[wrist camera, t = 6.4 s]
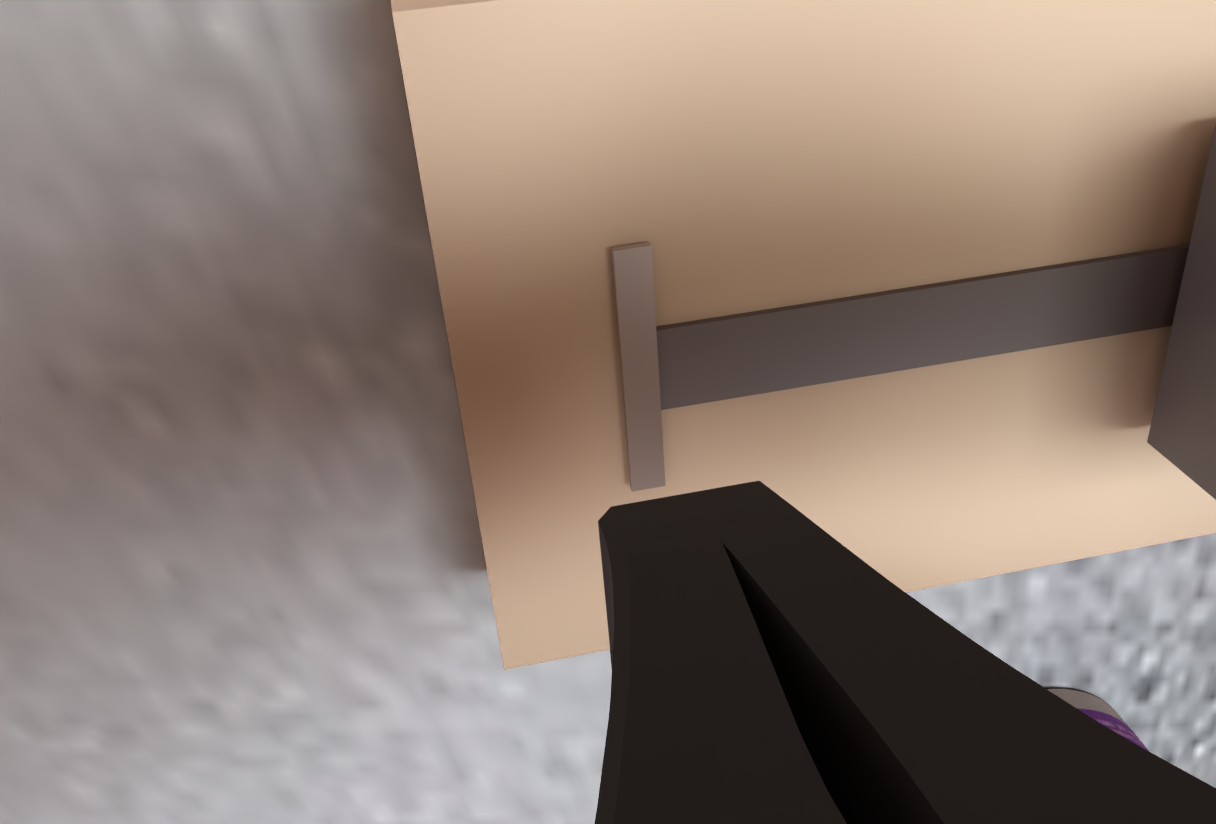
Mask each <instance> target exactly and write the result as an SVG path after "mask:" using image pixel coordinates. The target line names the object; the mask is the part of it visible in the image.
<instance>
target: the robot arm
mask: <svg viewBox="0 0 1216 824" xmlns="http://www.w3.org/2000/svg"><path fill="white" fill-rule="evenodd" d="M598 527H599V538H600V548H601V559H602V569H603V580H604V591H605V601H606V612H607V622H608V633H609V643H610V654H611V664H612V683H611V701H610V712H609V721H608V729H607V737H606V744H605V752H604V760H603V768H602V775H601V783H600V791H599V799H598V806H597V813H596V819H595V824H1216V788H1214V787H1212V786H1210V785H1209V784H1207V783H1205V782H1203V781H1201V780H1199V779H1198V778H1196V777H1194V776H1192V775H1190V774H1189V773H1187V772H1185V771H1183V770H1181V769H1179V768H1178V767H1176V766H1174V765H1172V764H1170V763H1169V762H1167V761H1165V760H1163V759H1161V758H1159V757H1158V756H1156V755H1154V754H1152V753H1150V752H1149V751H1147V750H1145V749H1143V748H1142V747H1140V746H1138V745H1137V744H1135V743H1133V742H1131V741H1130V740H1128V739H1126V738H1125V737H1123V736H1121V735H1120V734H1118V733H1116V732H1115V731H1113V730H1111V729H1109V728H1108V727H1106V726H1104V725H1103V724H1101V723H1099V722H1098V721H1096V720H1094V719H1093V718H1091V717H1089V716H1088V715H1086V714H1085V713H1083V712H1082V711H1080V710H1078V709H1077V708H1075V707H1074V706H1072V705H1071V704H1069V703H1068V702H1066V701H1064V700H1063V699H1061V698H1060V697H1058V696H1057V695H1055V694H1053V693H1052V692H1050V691H1049V690H1047V689H1046V688H1044V687H1042V686H1041V685H1039V684H1038V683H1036V682H1035V681H1033V680H1031V679H1030V678H1028V677H1027V676H1025V675H1024V674H1022V673H1020V672H1019V671H1017V670H1016V669H1014V668H1013V667H1011V666H1009V665H1008V664H1006V663H1005V662H1003V661H1002V660H1001V659H999V658H998V657H996V656H995V655H993V654H992V653H990V652H989V651H987V650H986V649H984V648H983V647H981V646H980V645H978V644H977V643H975V642H974V641H972V640H971V639H970V638H968V637H967V636H965V635H964V634H962V633H961V632H960V631H958V630H957V629H955V628H954V627H953V626H951V625H950V624H948V623H947V622H946V621H944V620H943V619H941V618H940V617H939V616H937V615H936V614H934V613H933V612H932V611H930V610H929V609H927V608H926V607H925V606H923V605H922V604H920V603H919V602H918V601H916V600H915V599H913V598H912V597H911V596H909V595H908V594H907V593H905V592H904V591H903V590H901V589H900V588H899V587H897V586H896V585H895V584H893V583H892V582H891V581H889V580H888V579H887V578H885V577H884V576H882V575H881V574H880V573H879V572H877V571H876V570H875V569H873V568H872V567H871V566H869V565H868V564H867V563H865V562H864V561H863V560H862V559H860V558H859V557H858V556H856V555H855V554H854V553H852V552H851V551H850V550H849V549H847V548H846V547H845V546H843V545H842V544H841V543H839V542H838V541H837V540H836V539H834V538H833V537H832V536H830V535H829V534H828V533H827V532H825V531H824V530H823V529H822V528H820V527H819V526H818V525H816V524H815V523H814V522H813V521H811V520H810V519H809V518H807V517H806V516H805V515H804V514H802V513H801V512H800V511H798V510H797V509H796V508H795V507H793V506H792V505H791V504H789V503H788V502H787V501H786V500H784V499H783V498H782V497H780V496H779V495H778V494H776V493H775V492H774V491H773V490H771V489H770V488H769V487H767V486H766V485H765V484H763V483H762V482H761V481H754V482H748V483H742V484H737V485H731V486H725V487H719V488H714V489H708V490H702V491H697V492H691V493H685V494H680V495H674V496H668V497H663V498H657V499H651V500H646V501H640V502H634V503H628V504H623V505H617V506H611V507H610V508H609V509H608V510H607V512H606V513H605V514H604V515H603V516H602V517H601V518H600V519H599V520H598Z"/></svg>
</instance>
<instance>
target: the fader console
mask: <svg viewBox="0 0 1216 824" xmlns="http://www.w3.org/2000/svg"><path fill="white" fill-rule="evenodd" d="M391 7H392V15H393V21H394V27H395V33H396V39H397V44H398V50H399V56H400V62H401V68H402V74H403V80H404V86H405V91H406V97H407V103H408V109H409V115H410V121H411V127H412V133H413V138H414V144H415V150H416V156H417V162H418V168H419V174H420V180H421V185H422V191H423V197H424V203H425V209H426V215H427V221H428V226H429V232H430V238H431V244H432V250H433V256H434V262H435V268H436V273H437V279H438V285H439V291H440V297H441V303H442V309H443V315H444V320H445V326H446V332H447V338H448V344H449V350H450V356H451V362H452V367H453V373H454V379H455V385H456V391H457V397H458V403H459V409H460V414H461V420H462V426H463V432H464V438H465V444H466V450H467V456H468V461H469V467H470V473H471V479H472V485H473V491H474V497H475V503H476V508H477V514H478V520H479V526H480V532H481V538H482V544H483V550H484V555H485V561H486V567H487V573H488V579H489V585H490V591H491V597H492V602H493V608H494V614H495V620H496V626H497V632H498V638H499V644H500V649H501V655H502V661H503V667H504V670H506V669H511V668H516V667H522V666H527V665H532V664H537V663H542V662H548V661H553V660H558V659H563V658H568V657H574V656H579V655H584V654H589V653H594V652H600V651H605V650H610V643H609V633H608V622H607V612H606V601H605V591H604V580H603V569H602V559H601V548H600V538H599V527H598V520H599V519H600V518H601V517H602V516H603V515H604V514H605V513H606V512H607V510H608V509H609V508H610V507H611V506H617V505H623V504H628V503H634V502H640V501H646V500H651V499H657V498H663V497H668V496H674V495H680V494H685V493H691V492H697V491H702V490H708V489H714V488H719V487H725V486H731V485H737V484H742V483H748V482H754V481H761V482H762V483H763V484H765V485H766V486H767V487H769V488H770V489H771V490H773V491H774V492H775V493H776V494H778V495H779V496H780V497H782V498H783V499H784V500H786V501H787V502H788V503H789V504H791V505H792V506H793V507H795V508H796V509H797V510H798V511H800V512H801V513H802V514H804V515H805V516H806V517H807V518H809V519H810V520H811V521H813V522H814V523H815V524H816V525H818V526H819V527H820V528H822V529H823V530H824V531H825V532H827V533H828V534H829V535H830V536H832V537H833V538H834V539H836V540H837V541H838V542H839V543H841V544H842V545H843V546H845V547H846V548H847V549H849V550H850V551H851V552H852V553H854V554H855V555H856V556H858V557H859V558H860V559H862V560H863V561H864V562H865V563H867V564H868V565H869V566H871V567H872V568H873V569H875V570H876V571H877V572H879V573H880V574H881V575H882V576H884V577H885V578H887V579H888V580H889V581H891V582H892V583H893V584H895V585H896V586H897V587H899V588H900V589H901V590H903V591H904V592H905V593H906V592H911V591H916V590H921V589H927V588H932V587H937V586H942V585H947V584H953V583H958V582H963V581H968V580H973V579H979V578H984V577H989V576H994V575H999V574H1005V573H1010V572H1015V571H1020V570H1025V569H1030V568H1036V567H1041V566H1046V565H1051V564H1056V563H1062V562H1067V561H1072V560H1077V559H1082V558H1088V557H1093V556H1098V555H1103V554H1108V553H1114V552H1119V551H1124V550H1129V549H1134V548H1140V547H1145V546H1150V545H1155V544H1160V543H1165V542H1171V541H1176V540H1181V539H1186V538H1191V537H1197V536H1202V535H1207V534H1212V533H1216V500H1215V499H1214V498H1213V497H1212V496H1211V495H1209V494H1208V493H1207V492H1206V491H1205V490H1203V489H1202V488H1201V487H1200V486H1199V485H1197V484H1196V483H1195V482H1194V481H1193V480H1191V479H1190V478H1189V477H1188V476H1187V475H1186V474H1184V473H1183V472H1182V471H1181V470H1180V469H1178V468H1177V467H1176V466H1175V465H1174V464H1172V463H1171V462H1170V461H1169V460H1168V459H1166V458H1165V457H1164V456H1163V455H1162V454H1160V453H1159V452H1158V451H1157V450H1156V449H1155V448H1153V447H1152V446H1151V445H1150V444H1149V443H1147V440H1148V435H1149V431H1150V426H1151V421H1152V417H1153V412H1154V407H1155V403H1156V398H1157V393H1158V389H1159V384H1160V380H1161V375H1162V370H1163V366H1164V361H1165V356H1166V352H1167V347H1168V342H1169V338H1170V333H1171V329H1172V324H1173V319H1174V315H1175V310H1176V305H1177V301H1178V296H1179V291H1180V287H1181V282H1182V278H1183V273H1184V268H1185V264H1186V259H1187V254H1188V250H1189V245H1190V240H1191V236H1192V231H1193V227H1194V222H1195V217H1196V213H1197V208H1198V203H1199V199H1200V194H1201V190H1202V185H1203V180H1204V176H1205V171H1206V166H1207V162H1208V157H1209V152H1210V148H1211V143H1212V139H1213V134H1214V129H1215V125H1216V0H391Z"/></svg>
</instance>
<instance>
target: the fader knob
mask: <svg viewBox="0 0 1216 824" xmlns="http://www.w3.org/2000/svg"><path fill="white" fill-rule="evenodd" d="M1147 443H1149V444H1150V445H1151V446H1152V447H1153V448H1155V449H1156V450H1157V451H1158V452H1159V453H1160V454H1162V455H1163V456H1164V457H1165V458H1166V459H1168V460H1169V461H1170V462H1171V463H1172V464H1174V465H1175V466H1176V467H1177V468H1178V469H1180V470H1181V471H1182V472H1183V473H1184V474H1186V475H1187V476H1188V477H1189V478H1190V479H1191V480H1193V481H1194V482H1195V483H1196V484H1197V485H1199V486H1200V487H1201V488H1202V489H1203V490H1205V491H1206V492H1207V493H1208V494H1209V495H1211V496H1212V497H1213V498H1214V499H1215V500H1216V125H1215V129H1214V134H1213V139H1212V143H1211V148H1210V152H1209V157H1208V162H1207V166H1206V171H1205V176H1204V180H1203V185H1202V190H1201V194H1200V199H1199V203H1198V208H1197V213H1196V217H1195V222H1194V227H1193V231H1192V236H1191V240H1190V245H1189V250H1188V254H1187V259H1186V264H1185V268H1184V273H1183V278H1182V282H1181V287H1180V291H1179V296H1178V301H1177V305H1176V310H1175V315H1174V319H1173V324H1172V329H1171V333H1170V338H1169V342H1168V347H1167V352H1166V356H1165V361H1164V366H1163V370H1162V375H1161V380H1160V384H1159V389H1158V393H1157V398H1156V403H1155V407H1154V412H1153V417H1152V421H1151V426H1150V431H1149V435H1148V440H1147Z"/></svg>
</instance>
